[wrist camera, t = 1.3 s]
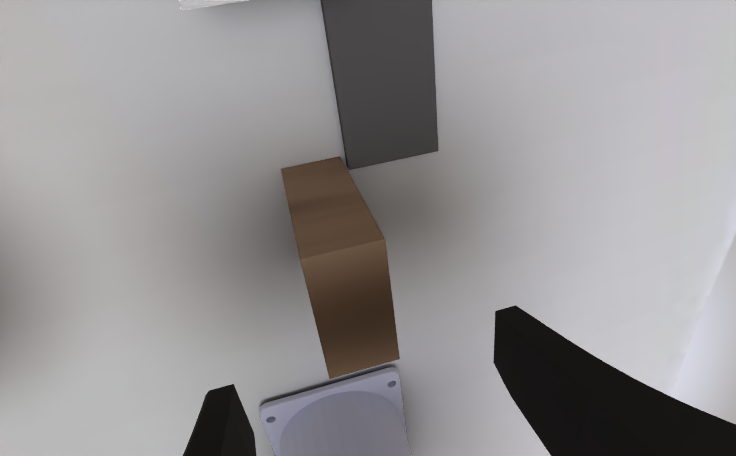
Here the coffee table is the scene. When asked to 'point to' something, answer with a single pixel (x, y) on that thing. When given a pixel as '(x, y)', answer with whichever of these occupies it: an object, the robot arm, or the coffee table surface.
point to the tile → (203, 3)
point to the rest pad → (383, 77)
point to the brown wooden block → (342, 266)
